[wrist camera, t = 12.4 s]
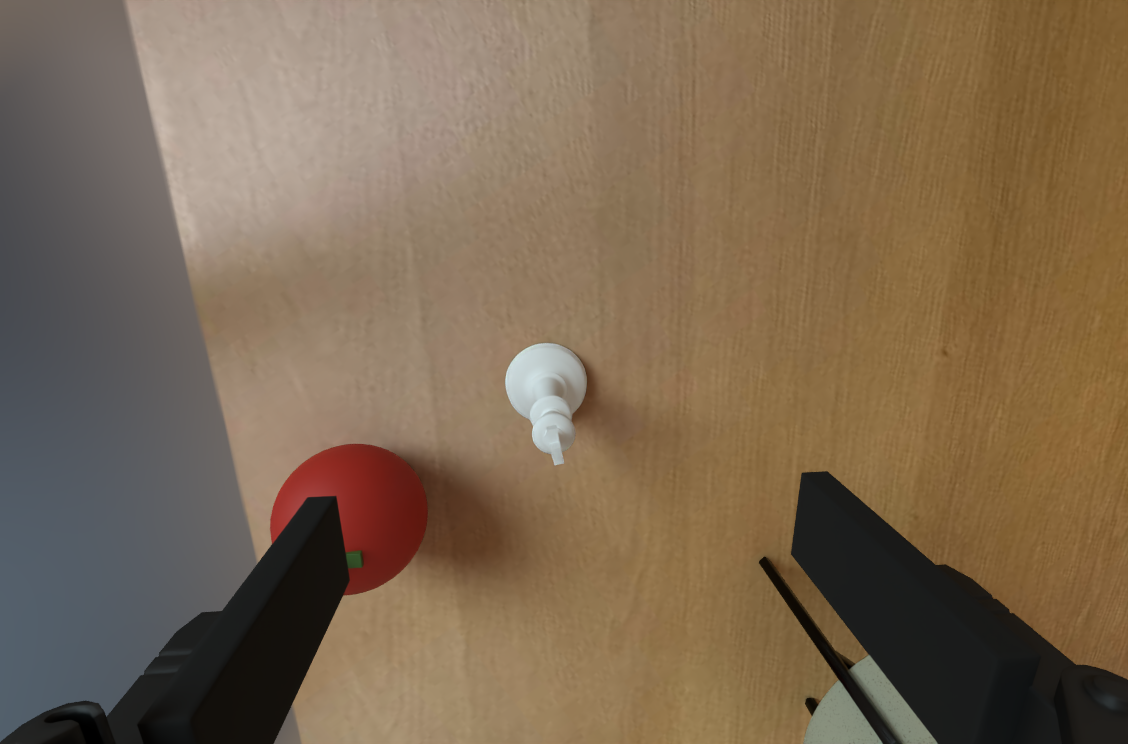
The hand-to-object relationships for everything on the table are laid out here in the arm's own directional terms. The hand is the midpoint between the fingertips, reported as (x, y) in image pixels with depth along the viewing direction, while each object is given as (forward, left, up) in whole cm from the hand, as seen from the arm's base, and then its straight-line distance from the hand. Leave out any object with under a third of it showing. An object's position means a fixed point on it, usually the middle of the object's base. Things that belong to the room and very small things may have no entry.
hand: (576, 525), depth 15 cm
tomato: (+7, -11, -17) cm, 22 cm away
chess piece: (+1, 0, -18) cm, 18 cm away
